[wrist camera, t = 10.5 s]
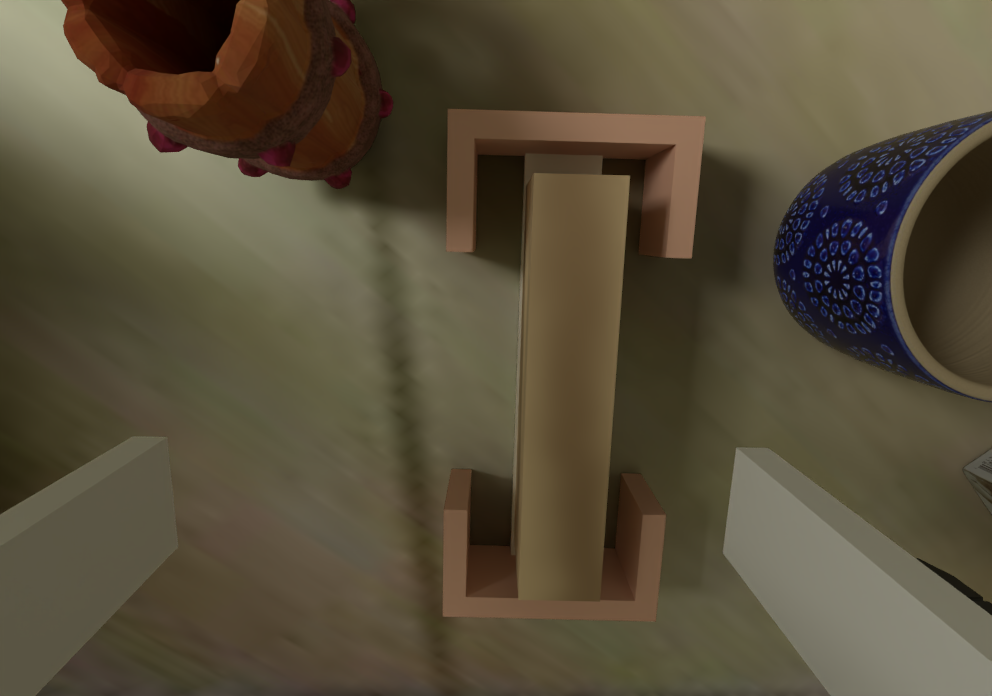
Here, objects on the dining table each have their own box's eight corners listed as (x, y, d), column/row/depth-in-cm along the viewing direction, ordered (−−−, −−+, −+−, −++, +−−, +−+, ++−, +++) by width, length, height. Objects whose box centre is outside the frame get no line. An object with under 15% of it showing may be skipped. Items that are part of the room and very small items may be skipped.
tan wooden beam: (514, 534, 33) (518, 599, 27) (526, 186, 29) (534, 173, 23) (581, 535, 33) (599, 601, 27) (602, 187, 29) (630, 175, 23)
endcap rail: (450, 561, 34) (442, 616, 29) (455, 130, 29) (447, 108, 24) (632, 566, 34) (655, 621, 29) (670, 136, 29) (705, 116, 24)
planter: (937, 338, 31) (1174, 394, 20) (746, 355, 32) (880, 418, 21) (952, 138, 29) (1227, 79, 18) (747, 157, 29) (897, 110, 18)
